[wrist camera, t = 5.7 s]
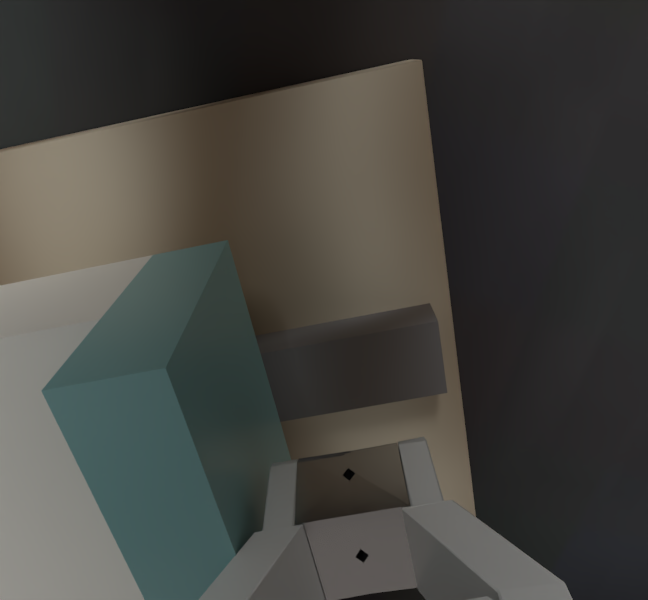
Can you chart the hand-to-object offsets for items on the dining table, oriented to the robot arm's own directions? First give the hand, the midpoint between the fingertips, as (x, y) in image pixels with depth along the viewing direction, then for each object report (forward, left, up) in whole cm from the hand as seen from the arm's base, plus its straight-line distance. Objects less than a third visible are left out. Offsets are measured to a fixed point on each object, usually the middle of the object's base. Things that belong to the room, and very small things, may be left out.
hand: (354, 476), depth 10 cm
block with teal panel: (+5, +1, -3) cm, 6 cm away
